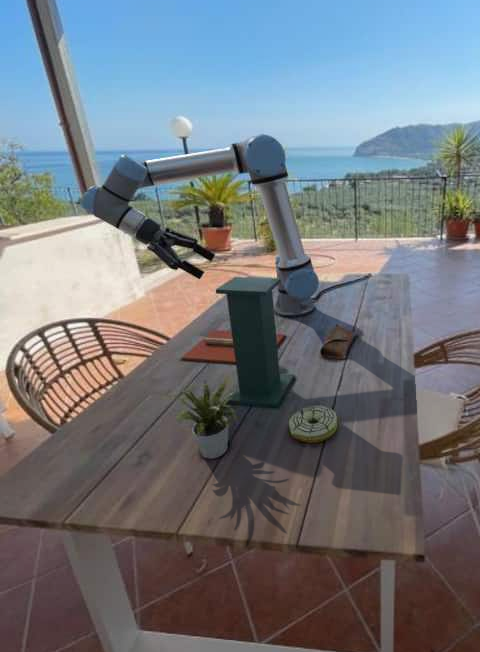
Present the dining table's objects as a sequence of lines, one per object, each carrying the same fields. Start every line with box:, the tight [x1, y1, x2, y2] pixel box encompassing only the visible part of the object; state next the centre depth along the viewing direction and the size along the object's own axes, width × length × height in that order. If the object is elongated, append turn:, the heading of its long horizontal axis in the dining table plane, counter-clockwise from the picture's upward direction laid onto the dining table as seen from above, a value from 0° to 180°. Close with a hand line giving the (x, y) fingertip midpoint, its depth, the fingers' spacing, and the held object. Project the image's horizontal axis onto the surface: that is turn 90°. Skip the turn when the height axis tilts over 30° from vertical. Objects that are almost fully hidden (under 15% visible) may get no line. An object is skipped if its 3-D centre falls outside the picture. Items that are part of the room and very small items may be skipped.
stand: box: [215, 276, 295, 408], centre depth 98 cm, size 14×14×30 cm
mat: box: [181, 329, 286, 365], centre depth 125 cm, size 20×26×1 cm
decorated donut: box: [288, 405, 338, 444], centre depth 87 cm, size 10×11×4 cm
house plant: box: [161, 375, 238, 459], centre depth 78 cm, size 14×14×16 cm
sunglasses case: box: [319, 323, 359, 360], centre depth 126 cm, size 18×7×7 cm, turn 169°
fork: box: [203, 337, 233, 345], centre depth 125 cm, size 6×23×2 cm, turn 83°
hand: (208, 266), depth 122 cm, fingers open, 13 cm apart
